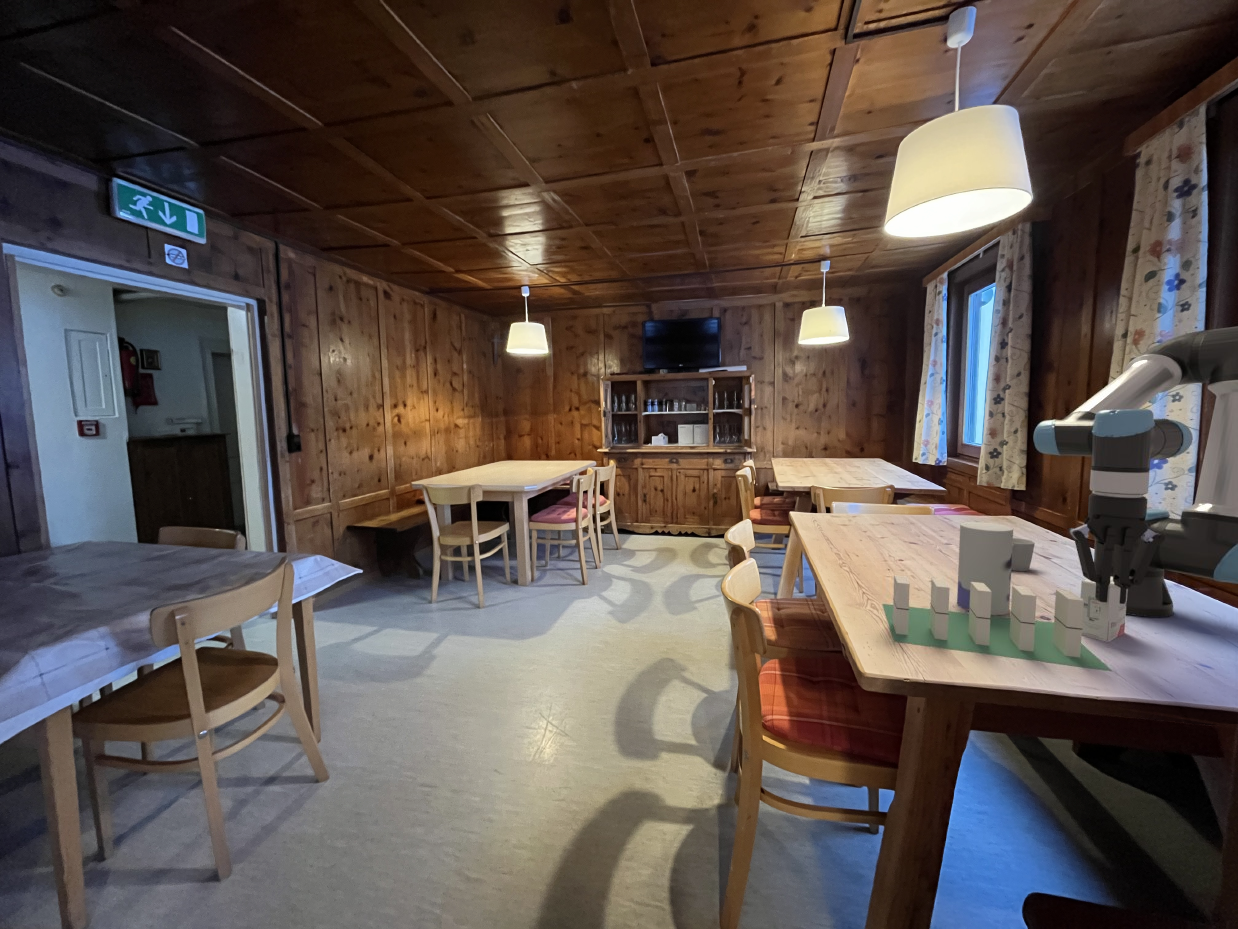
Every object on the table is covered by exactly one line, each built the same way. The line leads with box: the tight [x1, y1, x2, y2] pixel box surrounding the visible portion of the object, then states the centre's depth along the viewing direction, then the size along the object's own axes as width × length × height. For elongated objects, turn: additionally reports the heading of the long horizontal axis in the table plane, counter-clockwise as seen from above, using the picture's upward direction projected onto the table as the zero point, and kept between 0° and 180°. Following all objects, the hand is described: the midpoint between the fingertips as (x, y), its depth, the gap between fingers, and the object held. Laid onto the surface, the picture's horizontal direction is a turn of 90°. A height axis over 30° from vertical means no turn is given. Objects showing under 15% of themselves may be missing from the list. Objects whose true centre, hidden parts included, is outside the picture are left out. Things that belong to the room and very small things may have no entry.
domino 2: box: [929, 578, 950, 640], centre depth 102 cm, size 2×6×11 cm, turn 157°
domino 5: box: [1053, 589, 1084, 658], centre depth 94 cm, size 2×6×11 cm, turn 157°
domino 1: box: [892, 574, 911, 635], centre depth 105 cm, size 2×6×11 cm, turn 157°
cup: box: [1011, 537, 1036, 572], centre depth 145 cm, size 8×10×8 cm
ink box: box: [1080, 577, 1128, 643], centre depth 101 cm, size 9×5×12 cm, turn 118°
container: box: [956, 521, 1014, 616], centre depth 116 cm, size 10×10×20 cm
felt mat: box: [882, 603, 1113, 672], centre depth 103 cm, size 34×22×1 cm, turn 67°
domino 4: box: [1010, 585, 1037, 651], centre depth 97 cm, size 2×6×11 cm, turn 157°
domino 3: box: [968, 582, 992, 646], centre depth 100 cm, size 2×6×11 cm, turn 157°
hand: (1108, 619), depth 92 cm, fingers closed
